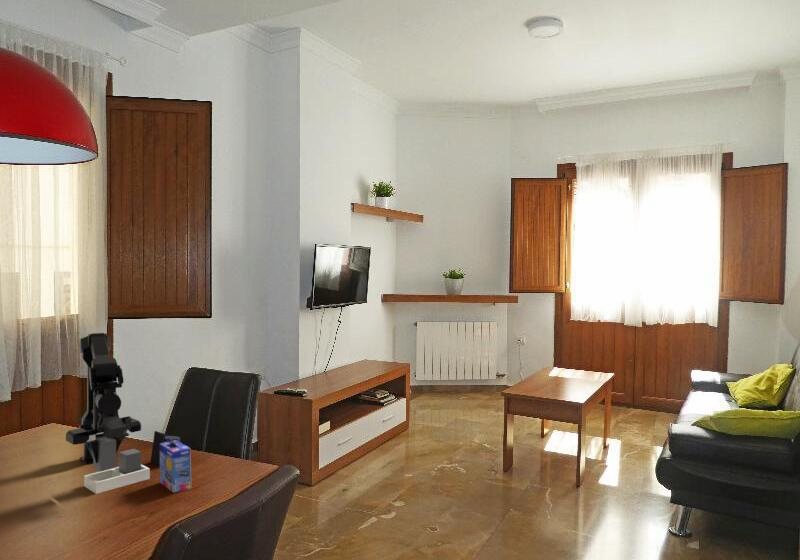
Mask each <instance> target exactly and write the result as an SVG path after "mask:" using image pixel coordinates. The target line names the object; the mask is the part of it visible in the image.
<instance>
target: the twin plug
mask: <svg viewBox="0 0 800 560" xmlns="http://www.w3.org/2000/svg"><path fill="white" fill-rule="evenodd" d="M118 453H119V454H118V463H119V464H118V467H119V472H121V473H122V474H128V473H131V472H135V471H139V470H141V464H142V451H139V450H138V449H136V448H131V449H127V450H123V451H119V452H118Z"/></svg>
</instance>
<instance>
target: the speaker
mask: <svg viewBox="0 0 800 560" xmlns="http://www.w3.org/2000/svg"><path fill="white" fill-rule="evenodd" d="M167 437H168V438H170V439H172V440H173V441H174V440H177V441H179V442H181V437H180V436H175V435H166V433H164V432H160V431H157V430H154V434H153V440H152V448H151V456H150V463H152V464H154V465H156V466H159V467H160V447H159V444H160V443H164V442H169V440H168V438H167Z"/></svg>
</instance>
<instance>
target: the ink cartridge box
mask: <svg viewBox="0 0 800 560" xmlns="http://www.w3.org/2000/svg"><path fill="white" fill-rule="evenodd" d="M167 438H168V437H167ZM168 440H169V442H164V443H160V444H159V447H160V466H159V484H161V485H162V486H163V487H165V488H166V489H167V490H169V491H170V492H172V493H177V492H181V491H185V490H190V489H192V465H191V464H192V463H191V460H192V457H191V447H190V446H189V445H186V444H183V443H182V442H181V441H180V442H179V441H177V440H174V441H173V440H172V439H170V438H168Z"/></svg>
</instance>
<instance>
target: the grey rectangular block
mask: <svg viewBox="0 0 800 560" xmlns="http://www.w3.org/2000/svg"><path fill="white" fill-rule="evenodd" d="M96 440H98V441H99V442H98V444H97V451H98V463H95V462H94V460H93V462H92V463H93V469H94V470H97V472H101V471H105V470H109V469H113V468H116V467H117V454H116V440H115V439H113V438H112V439H108V438H106V437H105V438H100V439H96Z"/></svg>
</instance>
